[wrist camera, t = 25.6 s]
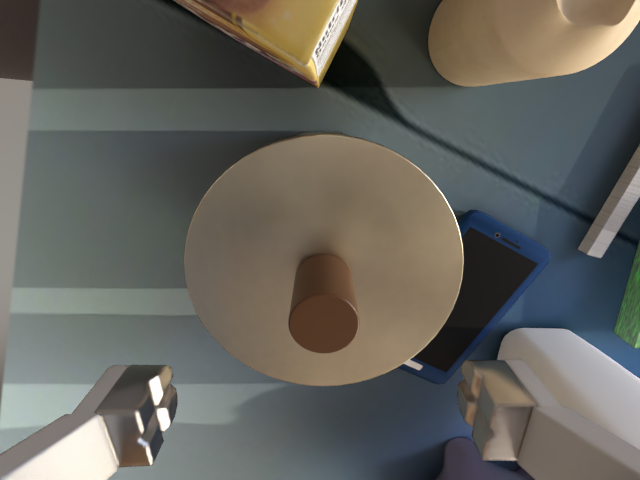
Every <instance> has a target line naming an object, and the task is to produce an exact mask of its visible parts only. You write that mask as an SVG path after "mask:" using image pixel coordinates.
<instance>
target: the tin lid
mask: <svg viewBox="0 0 640 480" xmlns="http://www.w3.org/2000/svg"><path fill="white" fill-rule="evenodd" d="M463 264H464V257H463V243H462V239H461V234H460V230H459V226H458V223H457V221H456V218H455V216H454V213H453V211H452V209H451V207H450V205H449V203H448V202H447V200H446V198H445V196H444V195H443V194H442V192H441V191H440V190H439V188H438V187H437V186H436V185H435V183H434V182H433V181H432V180H431V179H430V178H429V177H428V176H427V175H426V174H425V173H424V172H423V171H422V170H421V169H420V168H419V167H417V166H416V165H415V164H413V163H412V162H410V161H409V160H407V159H406V158H405V157H403V156H402V155H400V154H398V153H396V152H394V151H392V150H390V149H388V148H386V147H384V146H383V145H380V144H377V143H374V142H371V141H368V140H365V139H363V138H357V137H352V136H347V135H341V134H310V135H300V136H296V137H291V138H287V139H282V140H279V141H276V142H274V143H271V144H268V145H266V146H263V147H261V148H259V149H257V150H256V151H254V152H252V153H250V154H248V155H246V156H245V157H243V158H242V159H240V160H239V161H238V162H236V163H235V164H234V165H232V166H231V167H230V168H228V169H227V170H226V171H225V172H224V173H223V174H222V175H221V176H220V177H219V178H218V179H217V180H216V181H215V182H214V183H213V184H212V186H211V187H210V188H209V190H208V191H207V192H206V194H205V195H204V196H203V198H202V200H201V201H200V203H199V205H198V207H197V209H196V211H195V213H194V215H193V218H192V221H191V223H190V226H189V229H188V233H187V238H186V243H185V253H184V268H185V278H186V283H187V287H188V291H189V295H190V298H191V301H192V303H193V306H194V308H195V310H196V312H197V314H198V316H199V318H200V319H201V321H202V323H203V325H204V326H205V327H206V329H207V330H208V331H209V333H210V334H211V335H212V337H213V338H214V339H215V340H216V341H217V342H218V343H219V344H220V345H221V346H222V347H223V348H224V349H225V350H226V351H228V352H229V353H230V354H231V355H232V356H234V357H235V358H236V359H238V360H239V361H241V362H242V363H244V364H245V365H247V366H249V367H250V368H252V369H254V370H256V371H258V372H261V373H263V374H265V375H268V376H270V377H273V378H276V379H279V380H283V381H287V382H291V383H295V384H302V385H309V386H337V385H345V384H352V383H357V382H361V381H365V380H368V379H372V378H374V377H377V376H380V375H382V374H385V373H387V372H389V371H391V370H393V369H395V368H397V367H399V366H401V365H402V364H404V363H405V362H407V361H408V360H410V359H411V358H413V357H414V356H415V355H416V354H418V353H419V352H420V351H421V350H422V349H423V348H425V347H426V346H427V345H428V344H429V342H430V341H431V340H432V339H433V338H434V337H435V336H436V335H437V333H438V332H439V331H440V329H441V328H442V327H443V325H444V324H445V322H446V321H447V319H448V317H449V315H450V313H451V311H452V310H453V307H454V305H455V302H456V300H457V297H458V294H459V290H460V286H461V282H462V276H463Z"/></svg>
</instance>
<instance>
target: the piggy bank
mask: <svg viewBox="0 0 640 480" xmlns="http://www.w3.org/2000/svg"><path fill="white" fill-rule="evenodd" d="M435 480H535V479H534V478H533V477H532V476H530V475H529V474H528V473H527V472H526V471H525V470H524V469H523V468H522V467H521V466H519V467H518V469H517V470H516V472H513V471H511V470H508V469H506V468H503V467H501V466H499V465H496V464H494V463H493V462H491V461H483V460H482V458H481V456H480V453H479V451H478V449H477V447H476V445H475V443H474V442H473V441H472V440H470V439H467V438H463V437H458V438H454V439H452V440H450V441H449V442H448V443H447V444H446V445H445V447H444V466H443V469H442V471H441V473H440V474H439V475H438V477H437V478H436V479H435Z"/></svg>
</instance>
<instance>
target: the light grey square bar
mask: <svg viewBox="0 0 640 480" xmlns="http://www.w3.org/2000/svg"><path fill="white" fill-rule="evenodd" d="M639 197H640V145H639V146H638V148H637V150H636V151H635V153H634V155H633V156H632V158H631V160H630V161H629V163H628V165H627V166H626V168H625V170H624V172H623V173H622V175H621V177H620V178H619V180H618V182H617V183H616V185H615V187H614V188H613V190H612V192H611V193H610V195H609V197H608V199H607V200H606V202H605V204H604V205H603V207H602V209H601V210H600V212H599V214H598V215H597V217H596V219H595V221H594V222H593V224H592V226H591V227H590V229H589V231H588V232H587V234H586V236H585V237H584V239H583V241H582V242H581V244H580V246H579V248H578V250H579V251H581V252H583V253H585V254H587V255H590V256H594V257H598V258H602V256H603V254H604V253H605V251H606V250H607V248H608V246H609V245H610V243H611V242H612V240H613V238H614V237H615V235H616V234H617V232H618V230H619V229H620V227H621V226H622V224H623V222H624V221H625V219H626V218H627V216H628V214H629V213H630V211H631V210H632V208H633V206H634V205H635V203H636V202H637V200H638V198H639Z"/></svg>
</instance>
